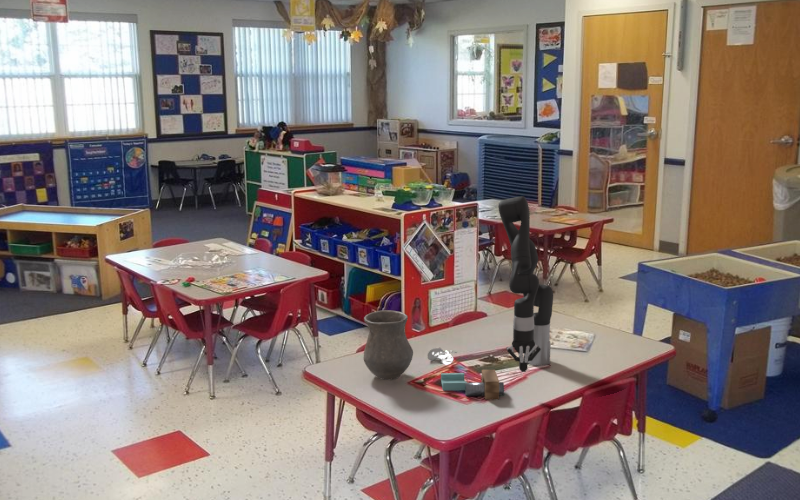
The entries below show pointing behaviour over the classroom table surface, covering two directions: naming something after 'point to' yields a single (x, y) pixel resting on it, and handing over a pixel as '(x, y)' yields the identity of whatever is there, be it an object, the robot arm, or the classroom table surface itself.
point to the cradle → (453, 381)
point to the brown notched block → (490, 384)
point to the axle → (480, 389)
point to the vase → (387, 344)
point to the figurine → (441, 355)
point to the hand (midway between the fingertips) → (523, 371)
